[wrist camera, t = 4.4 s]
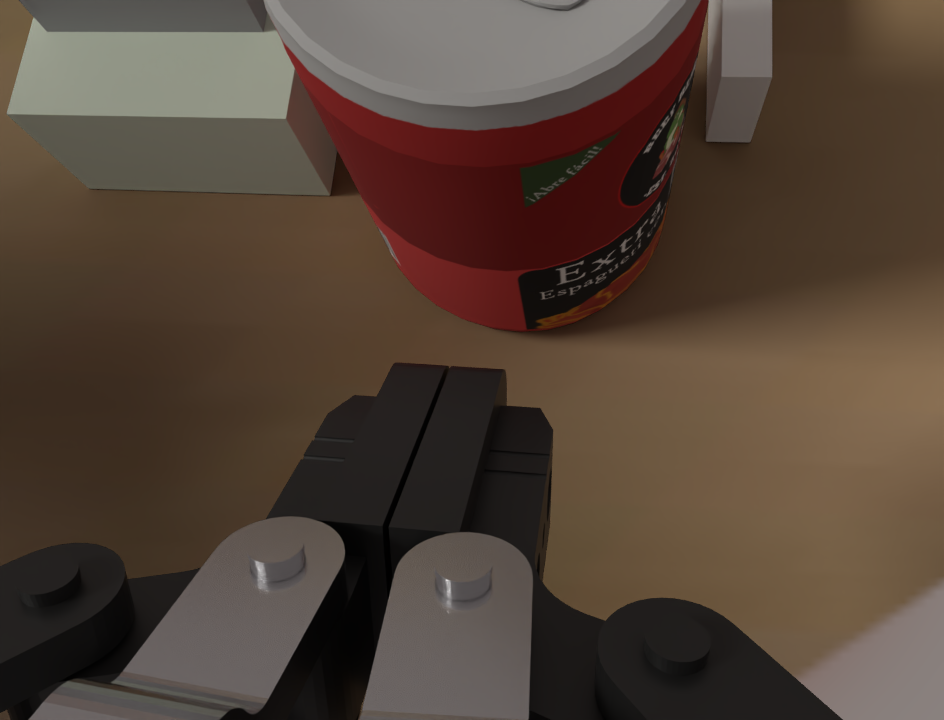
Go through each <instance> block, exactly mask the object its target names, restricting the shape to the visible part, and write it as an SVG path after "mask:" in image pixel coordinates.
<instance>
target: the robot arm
mask: <svg viewBox="0 0 944 720" xmlns="http://www.w3.org/2000/svg"><path fill="white" fill-rule="evenodd" d="M552 449H553V429H552V427H551V426H550V424H549V422H548V420H547V419H546V417H545V415H544V414H543V412H542V410H541V409H540V408H530V407H516V406H507V381H506V372H505V370H504V369H488V368H472V367H456V366H451V367H450V368H449V366H443V365H427V364H411V363H394V364H393V366H392V368H391V370H390V371H389V373H388V375H387V377H386V379H385V381H384V383H383V385H382V387H381V389H380V391H379V393H378V395H377V397H372V396H358V395H354V396H352V397H351V398H350V399H348V400H347V401H345V402H344V403H342V404H341V405H340V406H338V407H337V408H335V409H334V410H333V411H331V412H330V413H328V414H327V416H326V418H325V420H324V421H323V423H322V425H321V426H320V428H319V430H318V431H317V433H316V435H315V440H314V441H312V442H311V443H310V445H309V447H308V448H307V450H306V452H305V454H304V459H303V460H300V462H299V464H298V465H297V467H296V469H295V470H294V472H293V474H292V476H291V477H290V479H289V481H288V482H287V484H286V486H285V487H284V489H283V491H282V493H281V494H280V496H279V498H278V499H277V501H276V503H275V504H274V506H273V508H272V510H271V511H270V513H269V515H268V516H267V518H266V520H262V521H258V522H255V523H252V524H250V525H247V526H245V527H243V528H241V529H239V530H237V531H236V532H234V533H233V534H231V535H230V536H228V537H227V538H226V539H225V540H223V541H222V542H221V543H220V545H219V546H218V547H217V548H216V549H215V550H214V552H213V553H212V554H211V556H210V557H209V558H208V560H207V561H206V562H205V564H204V565H203V566H202V568H198V569H194V570H190V571H184V572H179V573H171V574H164V575H156V576H149V577H141V578H134V579H127V575H126V571H125V567H124V564H123V561H122V560H121V558H120V557H119V556H118V555H117V554H116V553H115V552H114V551H112V550H110V549H108V548H106V547H103V546H100V545H96V544H89V543H70V544H62V545H56V546H51V547H48V548H44V549H41V550H38V551H35V552H33V553H30V554H27V555H25V556H23V557H20V558H18V559H16V560H14V561H11V562H9V563H7V564H4V565H2V566H0V713H1V712H3V711H5V710H6V709H7V711H8V713H9V716H10V719H11V720H843V719H841V718H840V717H839V716H838V715H837V714H835V712H833V711H832V710H831V709H830V708H829V707H828V706H827V705H825V704H824V703H823V702H822V701H821V700H820V699H819V698H817V697H816V696H815V695H814V694H813V693H811V691H809V690H808V689H807V688H806V687H805V686H804V685H803V684H801V683H800V682H799V681H798V680H797V679H796V678H795V677H793V676H792V675H791V674H790V673H789V672H788V671H787V670H785V669H784V668H783V667H782V666H781V665H780V664H779V663H778V662H776V661H775V660H774V659H773V658H772V657H771V656H770V655H768V654H767V653H766V652H765V651H764V650H763V649H762V648H760V647H759V646H758V645H757V644H756V643H755V642H754V641H752V640H751V639H750V638H749V637H748V636H747V635H746V634H744V633H743V632H742V631H741V630H740V629H739V628H738V627H736V626H735V625H734V624H733V623H732V622H730V621H729V620H728V619H726V618H725V617H724V616H722V615H720V614H719V613H717V612H715V611H713V610H712V609H709V608H707V607H705V606H702V605H700V604H696V603H693V602H690V601H686V600H680V599H674V598H650V599H645V600H639V601H636V602H633V603H630V604H627V605H625V606H624V607H622V608H620V609H618V610H617V611H615V612H614V613H613V614H612V615H611V616H610V617H609V618H608V619H607V620H606V621H604V620H601V619H598V618H596V617H593V616H590V615H587V614H585V613H582V612H580V611H578V610H575V609H573V608H571V607H570V606H568V605H566V604H565V603H563V602H562V601H560V600H559V599H558V598H556V597H555V596H554V595H553V594H552V593H551V592H550V591H549V590H548V589H547V588H546V587H545V585H544V584H543V582H542V581H543V572H544V566H545V558H546V550H547V542H548V534H549V527H550V507H551V478H552ZM366 690H367V692H366ZM365 693H366V696H365ZM364 696H365V700H364V704H363V709H362V713H361V705H362V702H363V699H364Z"/></svg>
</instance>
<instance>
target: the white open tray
mask: <svg viewBox="0 0 944 720" xmlns="http://www.w3.org/2000/svg"><path fill="white" fill-rule="evenodd" d="M19 1H20V2H21V3H22V4H23V5H24V7H25V8H26V9H27V10H28V11H29V12H30V13H31V14H32V16H33V17H34V18H33V21H32V25H31V29H30V32H29V36H28V39H27V43H26V46H25V50H24V54H23V57H22V61H21V64H20V68H19V71H18V75H17V79H16V82H15V86H14V89H13V93H12V96H11V100H10V104H9V107H8V111H7V115H8V116H9V117H10V118H11V119H12V120H14V121H15V122H16V123H17V124H18V125H19V126H20V127H21V128H22V129H24V130H25V131H26V132H27V133H28V134H29V135H30V136H31V137H32V138H33V139H35V140H36V141H37V142H38V143H39V144H40V145H41V146H42V147H43V148H45V149H46V150H47V151H48V152H49V153H50V154H51V155H52V156H53V157H54V158H56V159H57V160H58V161H59V162H60V163H61V164H62V165H63V166H64V167H66V168H67V169H68V170H69V171H70V172H71V173H72V174H73V175H74V176H76V177H77V178H78V179H79V180H80V181H81V182H82V183H83V184H84V185H85V186H87V187H88V188H89V189H117V190H151V191H185V192H219V193H253V194H287V195H321V196H330V194H331V188H332V182H333V175H334V169H335V162H336V156H337V149H336V147H335V145H334V143H333V141H332V139H331V137H330V135H329V133H328V131H327V129H326V127H325V126H324V124H323V122H322V120H321V118H320V116H319V114H318V112H317V110H316V108H315V106H314V104H313V102H312V100H311V99H310V97H309V95H308V93H307V91H306V89H305V87H304V85H303V83H302V81H301V79H300V77H299V75H298V73H297V72H296V70H295V68H294V66H293V64H292V62H291V60H290V58H289V56H288V54H287V52H286V50H285V48H284V45H283V43H282V40H281V38H280V36H279V34H278V32H277V30H276V28H275V26H274V24H273V22H272V20H271V18H270V16H269V14H268V12H267V10H266V8H265V4H264V0H19ZM771 79H772V0H709V11H708V58H707V104H706V142H751V139H752V136H753V133H754V130H755V127H756V124H757V121H758V118H759V115H760V112H761V109H762V106H763V103H764V100H765V97H766V94H767V91H768V88H769V85H770V82H771Z"/></svg>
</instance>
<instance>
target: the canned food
mask: <svg viewBox="0 0 944 720" xmlns="http://www.w3.org/2000/svg"><path fill="white" fill-rule="evenodd" d="M708 2H709V0H264V4H265V8H266V10H267V12H268V14H269V16H270V18H271V20H272V22H273V24H274V26H275V28H276V30H277V32H278V34H279V36H280V38H281V40H282V43H283V45H284V48H285V50H286V52H287V54H288V56H289V58H290V60H291V62H292V64H293V66H294V68H295V70H296V72H297V73H298V75H299V77H300V79H301V81H302V83H303V85H304V87H305V89H306V91H307V93H308V95H309V97H310V99H311V100H312V102H313V104H314V106H315V108H316V110H317V112H318V114H319V116H320V118H321V120H322V122H323V124H324V126H325V127H326V129H327V131H328V133H329V135H330V137H331V139H332V141H333V143H334V145H335V147H336V149H337V151H338V153H339V154H340V156H341V158H342V160H343V162H344V164H345V166H346V168H347V170H348V172H349V174H350V176H351V178H352V180H353V181H354V183H355V185H356V187H357V189H358V191H359V193H360V195H361V197H362V199H363V201H364V203H365V205H366V207H367V208H368V210H369V212H370V214H371V216H372V218H373V220H374V222H375V224H376V226H377V228H378V230H379V232H380V234H381V235H382V237H383V239H384V241H385V243H386V245H387V247H388V249H389V251H390V253H391V255H392V257H393V258H394V260H395V262H396V264H397V266H398V268H399V269H400V270H401V271H402V272H403V274H404V275H405V276H406V277H407V279H408V280H409V281H410V282H411V283H412V285H413V286H414V287H415V288H416V289H417V290H418V291H420V292H421V293H422V294H423V295H425V296H426V297H427V298H428V299H430V300H431V301H432V302H433V303H435V304H436V305H437V306H439V307H441V308H443V309H445V310H447V311H449V312H451V313H452V314H454V315H456V316H458V317H460V318H462V319H465V320H467V321H470V322H474V323H477V324H480V325H484V326H487V327H490V328H494V329H500V330H510V331H519V332H525V331H538V330H549V329H553V328H556V327H560V326H564V325H568V324H571V323H575V322H577V321H579V320H581V319H583V318H585V317H587V316H589V315H591V314H593V313H595V312H597V311H599V310H600V309H602V308H603V307H605V306H606V305H607V304H609V303H610V302H611V301H613V300H614V299H615V298H617V297H618V296H619V295H620V294H622V293H623V292H624V291H626V290H627V289H628V288H629V286H630V285H631V284H632V283H633V282H634V281H635V279H636V278H637V277H638V276H639V275H640V274H641V272H642V271H643V270H644V269H645V267H646V265H647V263H648V262H649V260H650V258H651V256H652V254H653V252H654V251H655V249H656V247H657V245H658V242H659V238H660V235H661V231H662V227H663V224H664V220H665V216H666V211H667V206H668V201H669V196H670V191H671V186H672V181H673V176H674V171H675V166H676V161H677V156H678V151H679V146H680V141H681V136H682V131H683V126H684V121H685V116H686V111H687V106H688V101H689V96H690V91H691V87H692V82H693V77H694V72H695V67H696V62H697V57H698V52H699V47H700V42H701V37H702V32H703V27H704V22H705V17H706V12H707V7H708Z"/></svg>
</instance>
